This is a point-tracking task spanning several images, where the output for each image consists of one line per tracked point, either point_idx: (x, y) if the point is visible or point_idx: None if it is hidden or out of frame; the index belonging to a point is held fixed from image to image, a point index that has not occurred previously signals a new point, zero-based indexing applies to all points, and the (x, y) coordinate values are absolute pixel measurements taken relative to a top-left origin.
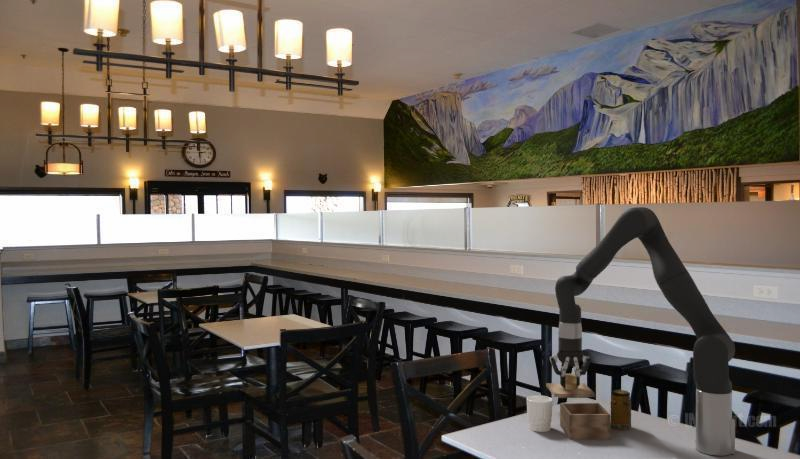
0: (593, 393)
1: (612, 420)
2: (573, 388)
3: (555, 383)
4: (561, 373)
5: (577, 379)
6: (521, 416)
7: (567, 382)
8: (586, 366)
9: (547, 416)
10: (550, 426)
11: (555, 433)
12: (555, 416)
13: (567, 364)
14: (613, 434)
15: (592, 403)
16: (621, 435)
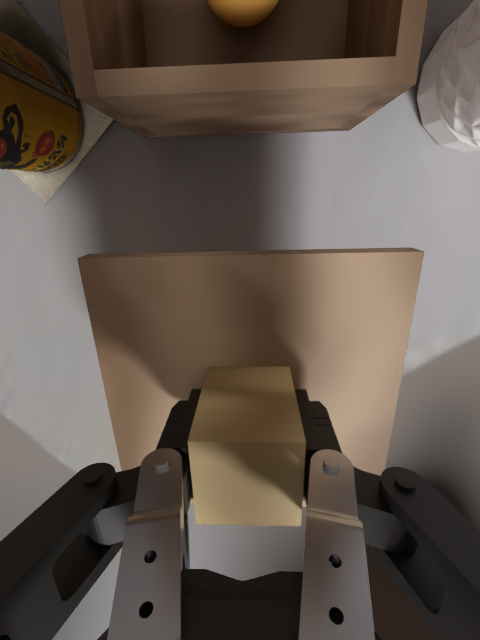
0: (89, 269)
1: (44, 79)
2: (229, 372)
3: None
4: (353, 483)
5: (182, 430)
6: (475, 323)
7: (281, 401)
8: (7, 563)
9: None
10: (442, 43)
11: None
12: None
13: (308, 600)
14: None
15: (129, 79)
16: (35, 4)
